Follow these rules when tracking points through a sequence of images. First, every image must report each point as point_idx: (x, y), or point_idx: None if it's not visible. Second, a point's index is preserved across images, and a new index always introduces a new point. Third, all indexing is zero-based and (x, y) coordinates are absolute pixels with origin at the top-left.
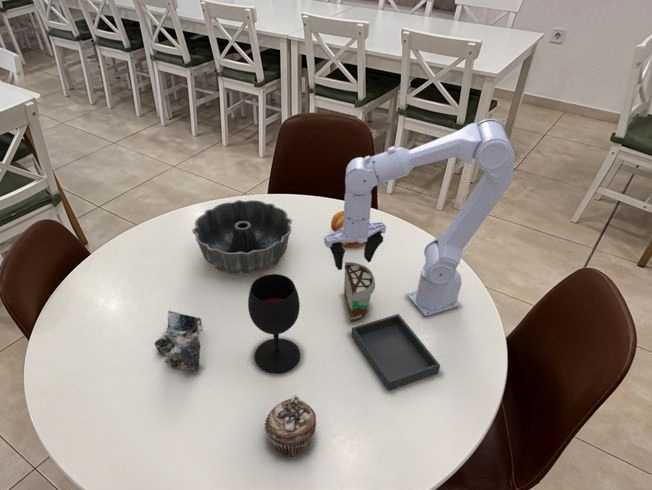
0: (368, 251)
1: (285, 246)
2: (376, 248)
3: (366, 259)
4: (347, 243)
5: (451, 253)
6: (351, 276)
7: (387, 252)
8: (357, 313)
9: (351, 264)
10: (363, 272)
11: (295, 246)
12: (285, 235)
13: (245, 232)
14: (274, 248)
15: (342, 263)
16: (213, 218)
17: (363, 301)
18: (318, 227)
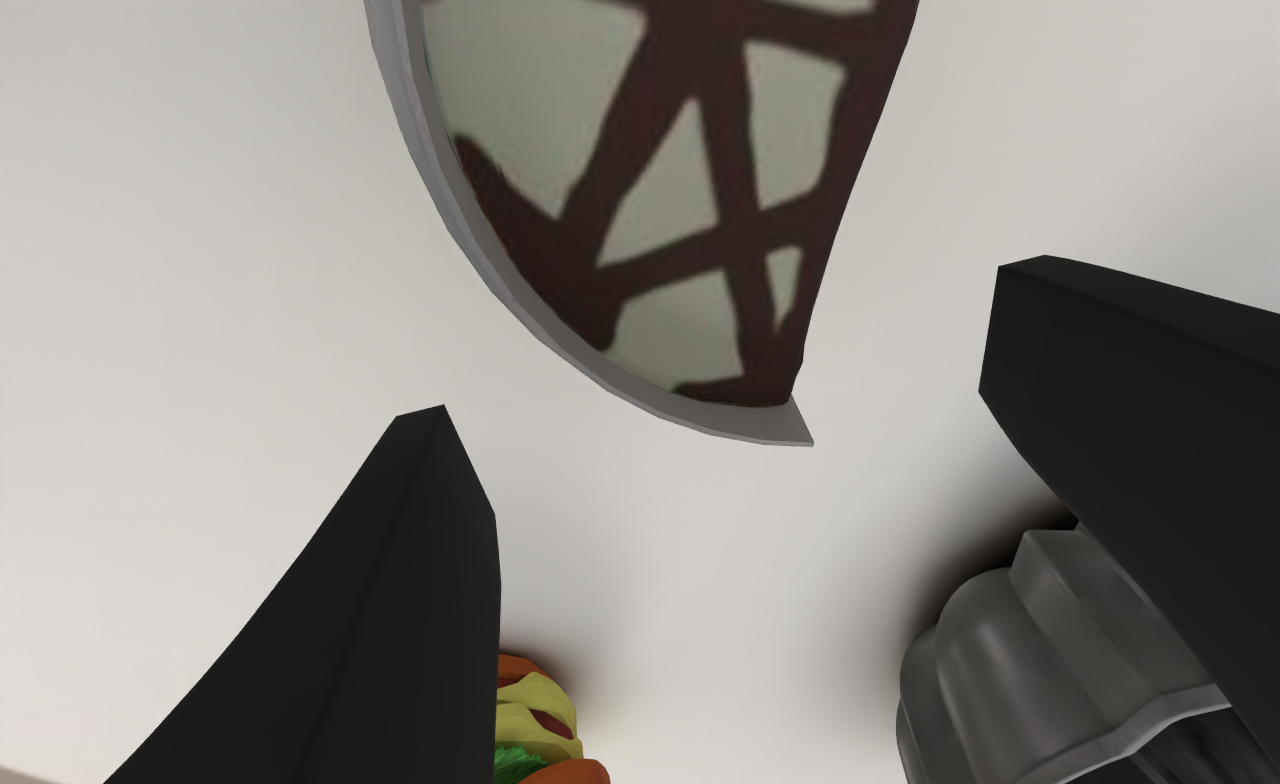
0: (433, 628)
1: (1004, 660)
2: (157, 744)
3: (468, 469)
4: (513, 680)
5: None
6: (843, 100)
7: (210, 614)
8: None
9: (717, 407)
10: (563, 203)
11: (815, 653)
12: (1101, 763)
13: (1265, 760)
14: (1185, 648)
15: (1151, 320)
16: None
17: None
18: (639, 761)
